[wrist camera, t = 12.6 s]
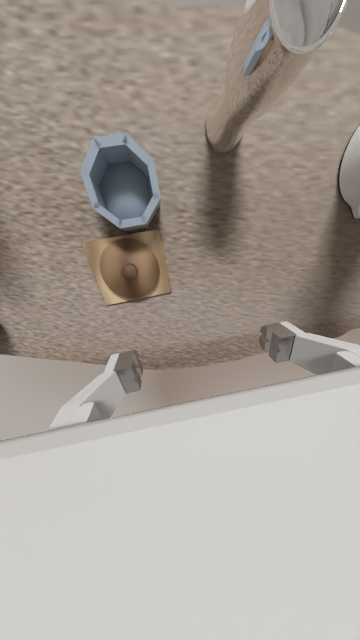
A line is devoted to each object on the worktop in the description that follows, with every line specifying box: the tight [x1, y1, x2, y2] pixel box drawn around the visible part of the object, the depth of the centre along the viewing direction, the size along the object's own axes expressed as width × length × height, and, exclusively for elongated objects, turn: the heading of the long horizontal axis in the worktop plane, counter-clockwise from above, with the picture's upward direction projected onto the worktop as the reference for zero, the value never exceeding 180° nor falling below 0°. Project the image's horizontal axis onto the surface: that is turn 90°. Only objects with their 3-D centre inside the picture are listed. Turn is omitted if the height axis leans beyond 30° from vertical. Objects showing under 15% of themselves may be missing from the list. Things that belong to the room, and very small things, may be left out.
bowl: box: [80, 133, 161, 231], centre depth 23 cm, size 10×10×5 cm
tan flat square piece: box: [81, 229, 171, 305], centre depth 31 cm, size 14×12×1 cm
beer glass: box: [206, 0, 348, 153], centre depth 17 cm, size 7×7×15 cm
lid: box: [100, 238, 160, 298], centre depth 29 cm, size 11×11×4 cm
